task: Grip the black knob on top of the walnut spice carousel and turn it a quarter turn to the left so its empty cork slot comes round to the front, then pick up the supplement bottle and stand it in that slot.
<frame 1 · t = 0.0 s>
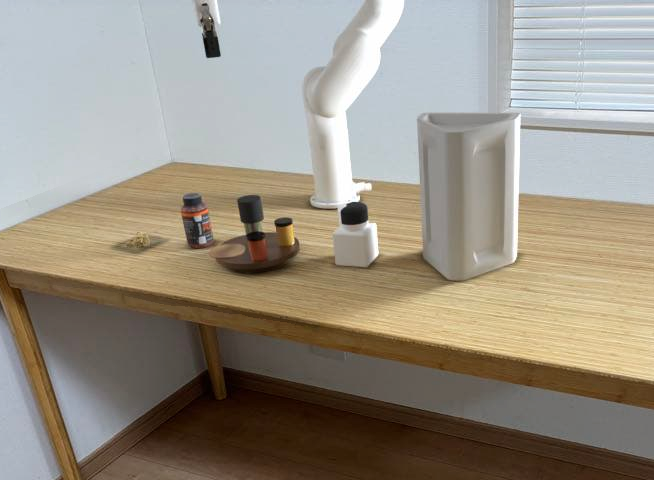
hand: (213, 54, 172), 37 cm above the table, tool pointing down, fingers open, 9 cm apart
spice rack: (250, 226, 161), point 8 cm above the table, hinge at 0.0°
supplement bottle: (201, 245, 176), on the table
white triangular tub: (464, 266, 156), on the table
dice set: (140, 245, 178), on the table
rack base: (259, 260, 165), on the table
medicine bottle: (357, 261, 162), on the table
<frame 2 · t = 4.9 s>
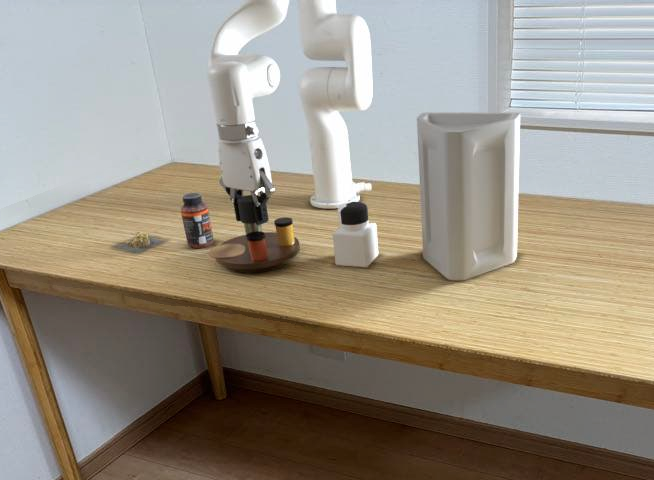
hand: (252, 220, 160), 9 cm above the table, tool pointing down, fingers closed on spice rack, 4 cm apart
spice rack: (250, 226, 161), point 8 cm above the table, hinge at 0.0°, touching gripper
everything else where it was.
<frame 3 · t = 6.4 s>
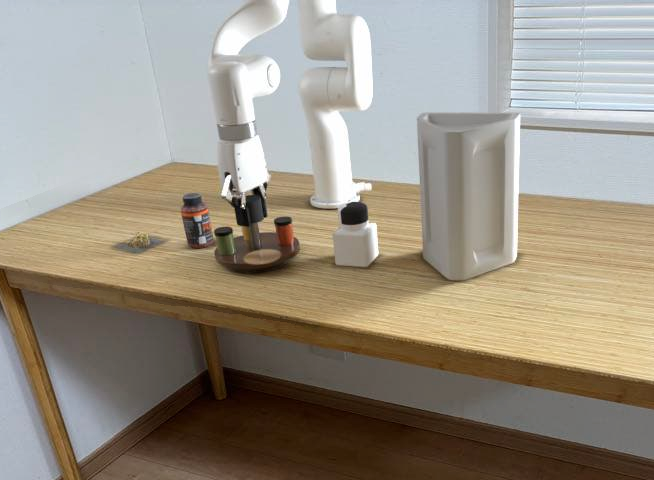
hand: (252, 220, 160), 9 cm above the table, tool pointing down, fingers closed on spice rack, 4 cm apart
spice rack: (253, 226, 160), point 8 cm above the table, hinge at 95.9°, touching gripper
everything else where it was.
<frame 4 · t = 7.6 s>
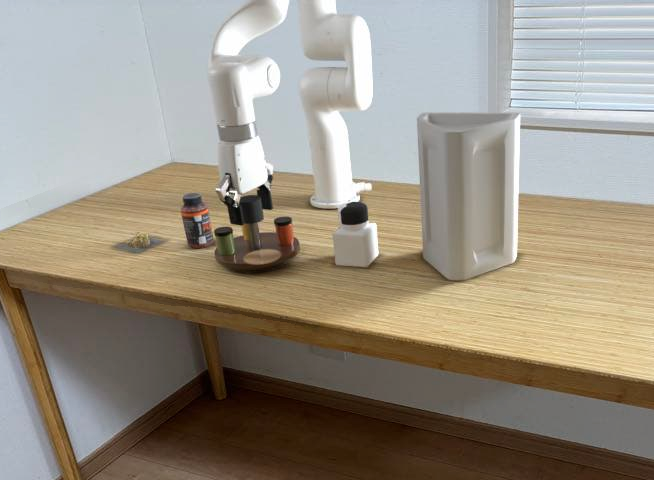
hand: (252, 216, 160), 10 cm above the table, tool pointing down, fingers open, 9 cm apart
spice rack: (253, 226, 160), point 8 cm above the table, hinge at 95.8°
everything else where it was.
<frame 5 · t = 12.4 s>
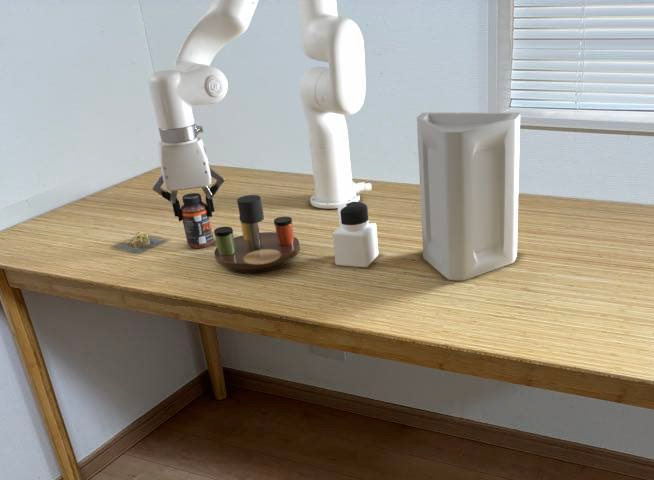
hand: (195, 216, 172), 7 cm above the table, tool pointing down, fingers closed on supplement bottle, 6 cm apart
supplement bottle: (201, 245, 176), on the table, touching gripper
everything else where it was.
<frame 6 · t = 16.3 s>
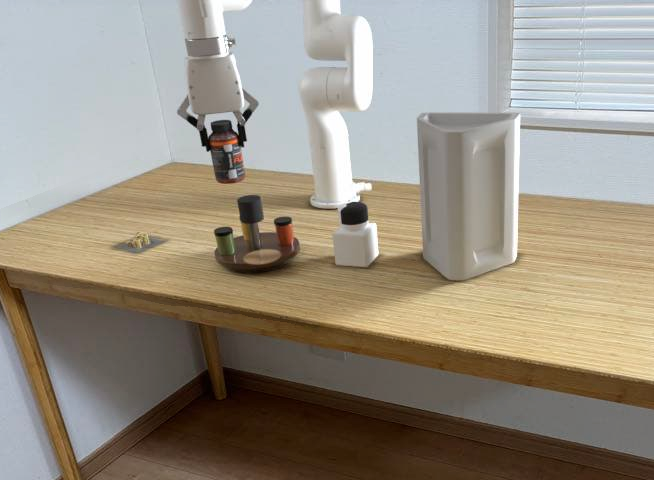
hand: (225, 147, 150), 24 cm above the table, tool pointing down, fingers closed on supplement bottle, 6 cm apart
supplement bottle: (231, 181, 154), point 18 cm above the table, touching gripper
everything else where it was.
when the fingers open (10 cm above the table, at t = 20.6 s): supplement bottle stays where it is, resting on spice rack.
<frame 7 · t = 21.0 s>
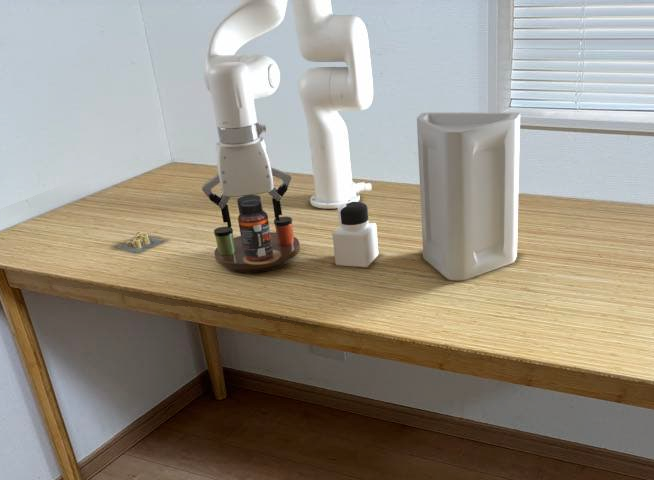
hand: (253, 222, 154), 11 cm above the table, tool pointing down, fingers open, 9 cm apart
spice rack: (253, 226, 160), point 8 cm above the table, hinge at 95.5°, touching supplement bottle
supplement bottle: (259, 257, 158), point 3 cm above the table, touching spice rack
everything else where it was.
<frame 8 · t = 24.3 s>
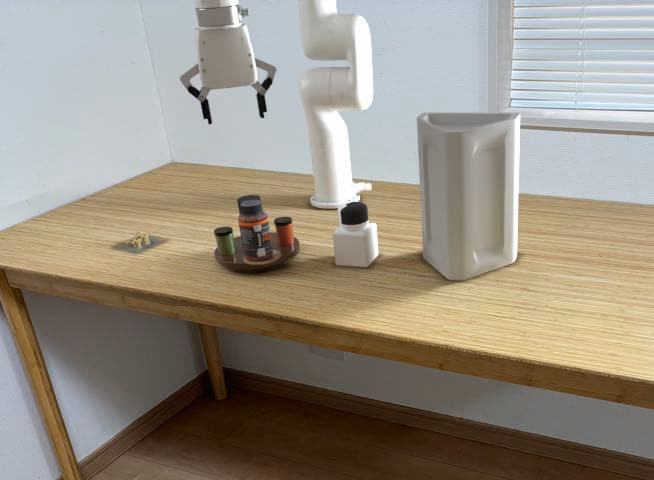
hand: (236, 119, 143), 30 cm above the table, tool pointing down, fingers open, 9 cm apart
nothing on the table moved.
at the end: spice rack at +96° (first picture: +0°); supplement bottle inside the target area on the spice rack (0.0 cm from its centre), point 3.0 cm above the spice rack's base; supplement bottle tilted 0° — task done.
